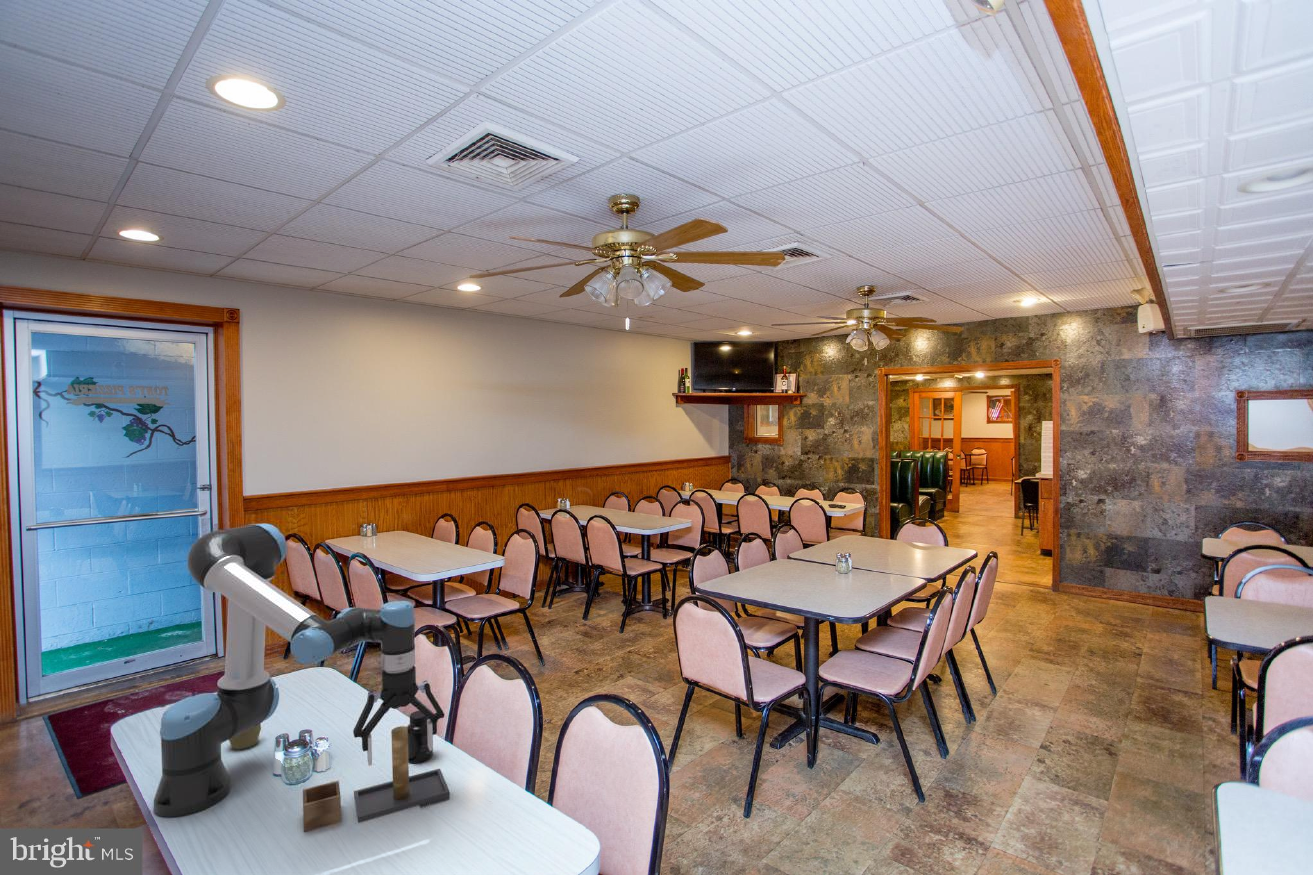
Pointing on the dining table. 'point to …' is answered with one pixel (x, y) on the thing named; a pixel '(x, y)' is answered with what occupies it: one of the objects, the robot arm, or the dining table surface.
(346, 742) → the dining table surface
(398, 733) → the dowel
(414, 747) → the supplement bottle
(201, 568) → the robot arm
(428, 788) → the tray
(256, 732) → the squeeze bottle
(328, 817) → the box
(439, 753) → the dining table surface
